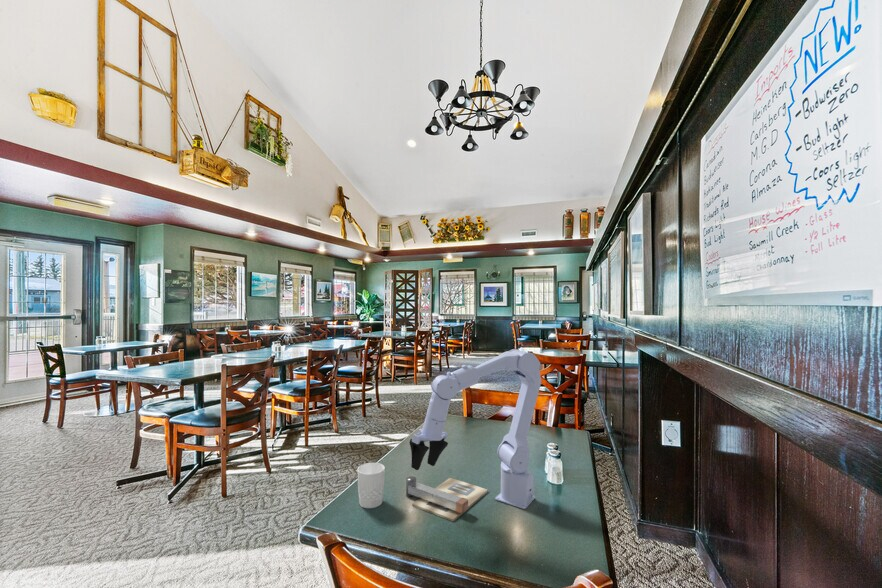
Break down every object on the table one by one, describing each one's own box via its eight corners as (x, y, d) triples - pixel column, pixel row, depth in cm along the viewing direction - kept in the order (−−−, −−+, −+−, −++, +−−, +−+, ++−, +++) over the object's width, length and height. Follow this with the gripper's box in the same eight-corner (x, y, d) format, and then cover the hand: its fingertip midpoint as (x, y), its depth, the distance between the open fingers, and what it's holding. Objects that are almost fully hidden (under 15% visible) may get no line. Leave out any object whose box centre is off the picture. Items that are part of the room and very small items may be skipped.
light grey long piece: (468, 512, 110) (468, 494, 110) (462, 517, 107) (462, 499, 107) (410, 491, 121) (410, 475, 121) (403, 495, 118) (404, 479, 119)
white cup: (351, 505, 113) (351, 470, 113) (368, 493, 120) (368, 460, 120) (373, 512, 109) (373, 476, 109) (389, 499, 116) (390, 465, 116)
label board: (488, 491, 122) (488, 489, 122) (453, 521, 105) (453, 518, 105) (450, 479, 129) (450, 477, 129) (412, 505, 113) (412, 503, 113)
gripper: (438, 412, 119) (426, 457, 118) (409, 414, 107) (395, 464, 106) (457, 421, 115) (445, 467, 114) (429, 423, 103) (415, 475, 102)
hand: (423, 466), depth 110 cm, fingers open, 7 cm apart
